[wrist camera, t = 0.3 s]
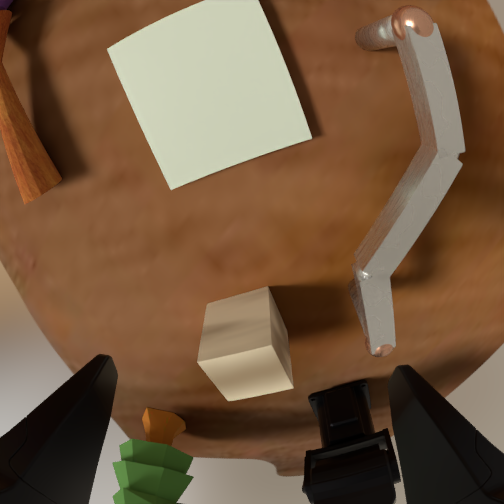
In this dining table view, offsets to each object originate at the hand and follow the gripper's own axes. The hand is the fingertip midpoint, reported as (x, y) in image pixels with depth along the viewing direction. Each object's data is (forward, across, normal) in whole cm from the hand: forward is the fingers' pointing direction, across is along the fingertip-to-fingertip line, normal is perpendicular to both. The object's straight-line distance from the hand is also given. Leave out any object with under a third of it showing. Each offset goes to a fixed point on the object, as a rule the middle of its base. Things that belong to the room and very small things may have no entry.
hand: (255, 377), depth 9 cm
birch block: (+13, 0, +9) cm, 16 cm away
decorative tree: (+14, +10, +29) cm, 34 cm away
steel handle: (+13, -7, -2) cm, 15 cm away
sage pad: (+13, +3, -8) cm, 15 cm away
